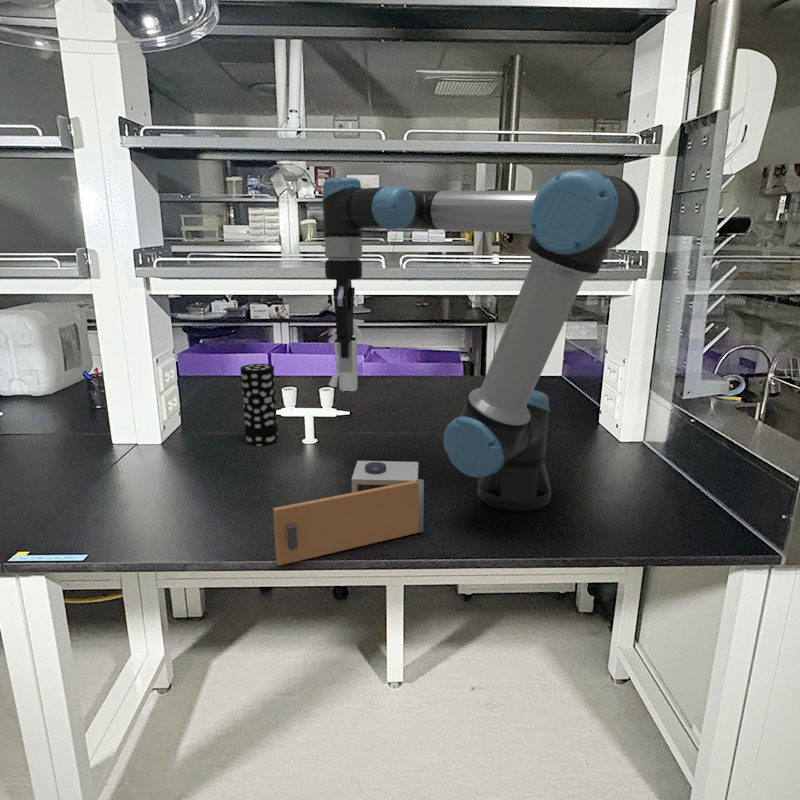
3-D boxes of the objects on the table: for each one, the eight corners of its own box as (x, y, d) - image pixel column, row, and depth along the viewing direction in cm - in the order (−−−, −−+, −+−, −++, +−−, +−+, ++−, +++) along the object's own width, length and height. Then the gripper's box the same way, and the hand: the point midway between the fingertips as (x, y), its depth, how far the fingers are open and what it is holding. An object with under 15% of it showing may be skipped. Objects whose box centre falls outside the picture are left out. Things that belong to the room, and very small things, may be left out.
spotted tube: (280, 435, 160) (276, 363, 154) (275, 446, 152) (270, 371, 146) (249, 436, 159) (244, 363, 154) (242, 446, 151) (237, 371, 146)
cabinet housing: (417, 508, 118) (418, 458, 115) (416, 530, 109) (417, 476, 106) (358, 506, 119) (357, 456, 116) (352, 528, 110) (351, 475, 107)
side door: (421, 528, 109) (421, 478, 107) (427, 534, 107) (427, 483, 104) (276, 562, 98) (272, 507, 95) (279, 569, 96) (276, 513, 93)
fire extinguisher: (330, 385, 210) (330, 316, 203) (363, 387, 210) (364, 317, 202) (326, 391, 204) (326, 319, 196) (361, 392, 203) (362, 321, 196)
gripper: (330, 257, 126) (333, 364, 133) (319, 260, 114) (323, 378, 120) (365, 257, 126) (366, 365, 133) (357, 260, 113) (359, 379, 120)
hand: (346, 371), depth 126 cm, fingers closed
